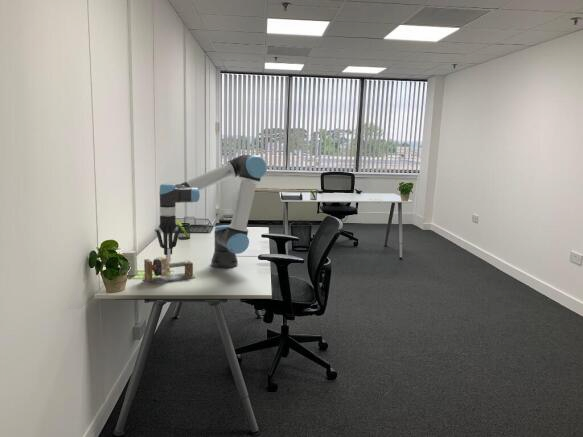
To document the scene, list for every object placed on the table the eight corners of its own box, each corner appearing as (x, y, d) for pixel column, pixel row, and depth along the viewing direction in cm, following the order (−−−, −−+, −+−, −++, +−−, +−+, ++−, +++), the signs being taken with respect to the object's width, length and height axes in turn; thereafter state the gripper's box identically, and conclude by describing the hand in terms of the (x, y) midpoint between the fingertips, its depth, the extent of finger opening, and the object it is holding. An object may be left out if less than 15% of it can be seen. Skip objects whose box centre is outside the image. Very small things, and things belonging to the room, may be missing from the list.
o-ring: (156, 272, 220) (156, 257, 219) (161, 276, 214) (161, 261, 213) (152, 273, 219) (152, 257, 218) (158, 277, 213) (157, 261, 212)
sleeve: (164, 271, 223) (164, 256, 221) (169, 275, 216) (169, 260, 215) (156, 272, 220) (156, 257, 219) (161, 276, 214) (161, 261, 213)
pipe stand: (188, 273, 231) (188, 253, 229) (194, 277, 224) (194, 257, 222) (142, 280, 217) (142, 258, 216) (148, 285, 210) (148, 263, 208)
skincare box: (137, 273, 228) (137, 250, 226) (135, 275, 224) (134, 252, 222) (125, 273, 228) (124, 250, 226) (122, 275, 223) (121, 252, 221)
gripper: (177, 213, 222) (177, 257, 226) (152, 214, 214) (152, 260, 218) (183, 215, 216) (183, 261, 220) (157, 216, 208) (157, 264, 212)
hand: (168, 260), depth 219 cm, fingers closed
